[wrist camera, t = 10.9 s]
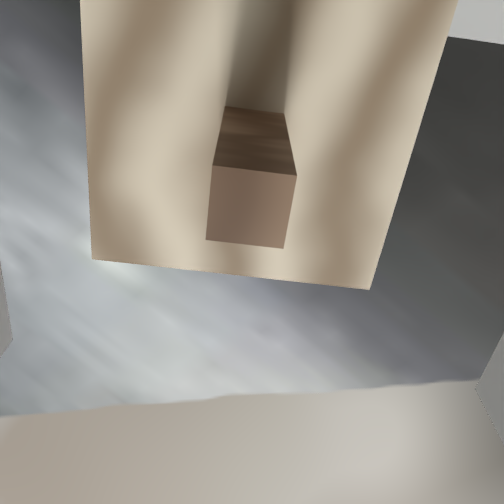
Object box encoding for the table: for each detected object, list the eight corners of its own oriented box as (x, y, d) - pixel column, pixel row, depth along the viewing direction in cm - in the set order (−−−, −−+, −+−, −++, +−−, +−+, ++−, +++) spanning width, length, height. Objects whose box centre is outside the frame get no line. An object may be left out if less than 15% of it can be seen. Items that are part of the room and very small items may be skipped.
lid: (456, -24, 24) (576, -20, 15) (365, 279, 33) (406, 393, 24) (84, -81, 22) (-25, -113, 14) (97, 249, 32) (36, 358, 23)
